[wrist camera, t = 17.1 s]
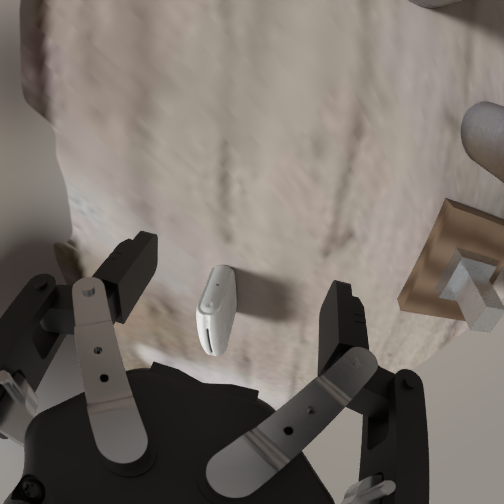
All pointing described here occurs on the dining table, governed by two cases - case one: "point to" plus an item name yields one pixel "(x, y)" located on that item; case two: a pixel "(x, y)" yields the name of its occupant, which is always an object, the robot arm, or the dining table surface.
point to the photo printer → (217, 310)
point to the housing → (472, 289)
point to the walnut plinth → (441, 250)
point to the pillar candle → (485, 136)
